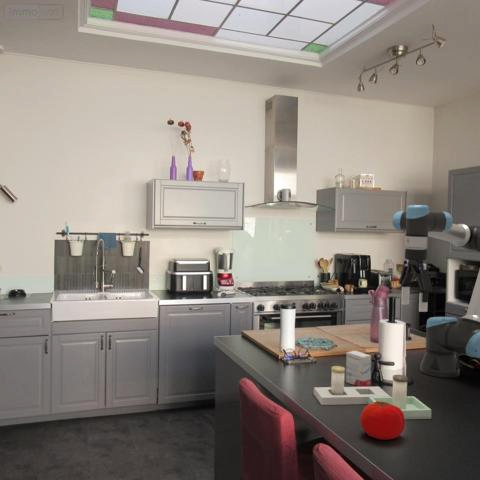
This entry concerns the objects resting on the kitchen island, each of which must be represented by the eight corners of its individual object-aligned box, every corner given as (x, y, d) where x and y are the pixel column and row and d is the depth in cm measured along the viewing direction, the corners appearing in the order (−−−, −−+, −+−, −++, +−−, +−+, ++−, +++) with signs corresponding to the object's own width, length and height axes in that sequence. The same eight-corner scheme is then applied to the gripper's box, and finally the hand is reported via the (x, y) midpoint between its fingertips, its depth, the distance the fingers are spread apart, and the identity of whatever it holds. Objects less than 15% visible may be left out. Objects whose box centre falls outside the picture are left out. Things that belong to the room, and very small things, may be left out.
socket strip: (378, 393, 179) (379, 363, 179) (389, 403, 169) (391, 371, 169) (313, 394, 176) (314, 363, 176) (321, 404, 166) (322, 372, 166)
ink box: (371, 386, 186) (372, 355, 186) (361, 388, 184) (363, 357, 183) (354, 379, 194) (355, 350, 193) (344, 381, 191) (346, 351, 190)
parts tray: (413, 404, 169) (413, 396, 169) (431, 418, 157) (431, 409, 157) (368, 405, 167) (368, 397, 167) (382, 419, 155) (383, 410, 155)
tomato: (410, 444, 138) (412, 408, 138) (366, 445, 137) (367, 408, 137) (395, 427, 150) (396, 394, 149) (354, 428, 149) (355, 394, 148)
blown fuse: (402, 407, 165) (403, 374, 164) (408, 412, 160) (410, 379, 160) (389, 407, 164) (390, 374, 164) (395, 412, 160) (396, 379, 159)
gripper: (391, 246, 188) (389, 301, 189) (423, 250, 163) (420, 314, 164) (409, 246, 189) (407, 301, 190) (444, 251, 164) (442, 314, 165)
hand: (413, 307), depth 177 cm, fingers open, 13 cm apart
